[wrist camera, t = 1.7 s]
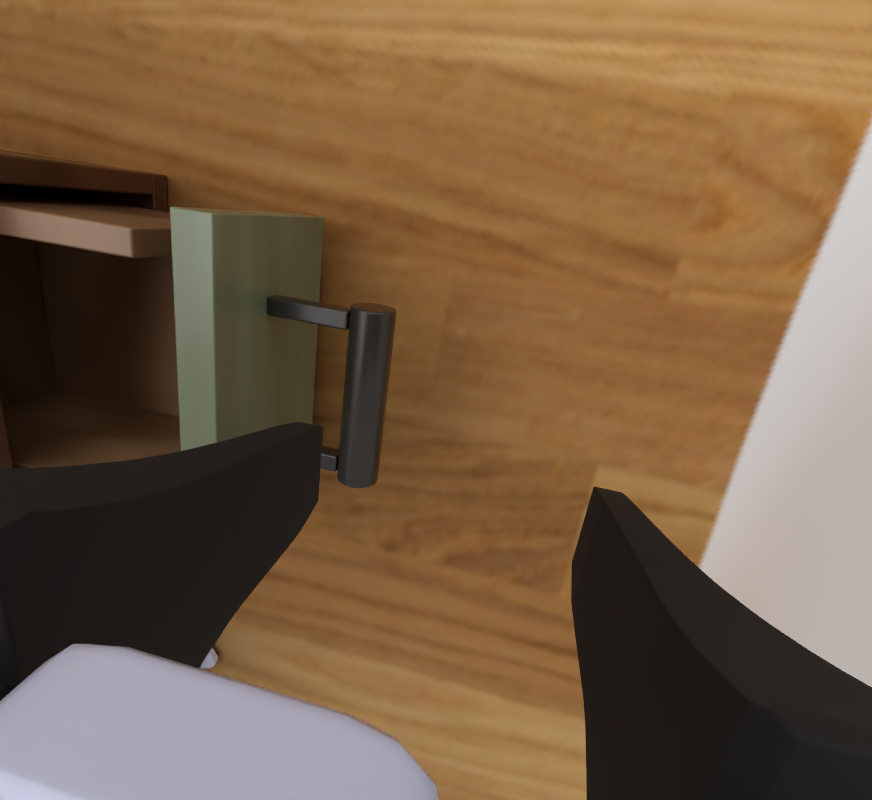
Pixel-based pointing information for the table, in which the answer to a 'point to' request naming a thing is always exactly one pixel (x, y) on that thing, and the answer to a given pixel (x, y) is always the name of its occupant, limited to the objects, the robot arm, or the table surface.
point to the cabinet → (80, 183)
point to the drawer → (173, 332)
